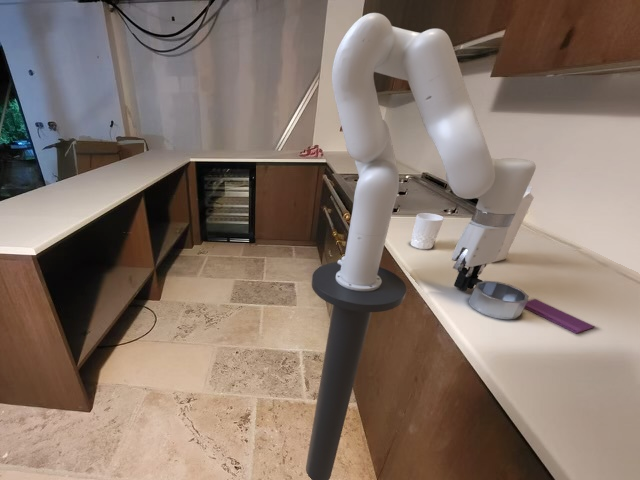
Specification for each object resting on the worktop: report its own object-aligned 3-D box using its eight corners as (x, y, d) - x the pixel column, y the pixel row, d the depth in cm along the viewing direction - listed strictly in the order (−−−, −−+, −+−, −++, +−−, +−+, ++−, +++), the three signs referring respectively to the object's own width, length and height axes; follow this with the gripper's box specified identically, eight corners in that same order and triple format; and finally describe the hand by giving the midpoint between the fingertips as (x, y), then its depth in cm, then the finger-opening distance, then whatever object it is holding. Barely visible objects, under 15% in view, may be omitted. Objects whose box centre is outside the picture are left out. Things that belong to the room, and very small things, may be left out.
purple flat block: (517, 304, 77) (518, 302, 77) (534, 300, 79) (535, 298, 79) (576, 333, 68) (577, 331, 68) (594, 327, 70) (595, 325, 69)
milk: (485, 252, 104) (516, 181, 92) (505, 259, 99) (539, 185, 87) (473, 255, 102) (502, 183, 90) (492, 262, 97) (525, 187, 85)
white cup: (406, 246, 108) (414, 217, 103) (411, 239, 114) (419, 211, 108) (432, 251, 104) (442, 222, 99) (435, 244, 110) (445, 215, 105)
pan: (442, 291, 83) (448, 276, 81) (470, 284, 86) (476, 269, 84) (499, 323, 71) (508, 306, 69) (529, 314, 74) (539, 297, 72)
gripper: (499, 209, 78) (471, 276, 88) (452, 217, 74) (428, 286, 84) (532, 218, 72) (498, 288, 82) (482, 227, 68) (453, 300, 78)
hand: (463, 287), depth 83 cm, fingers closed on pan, 1 cm apart
